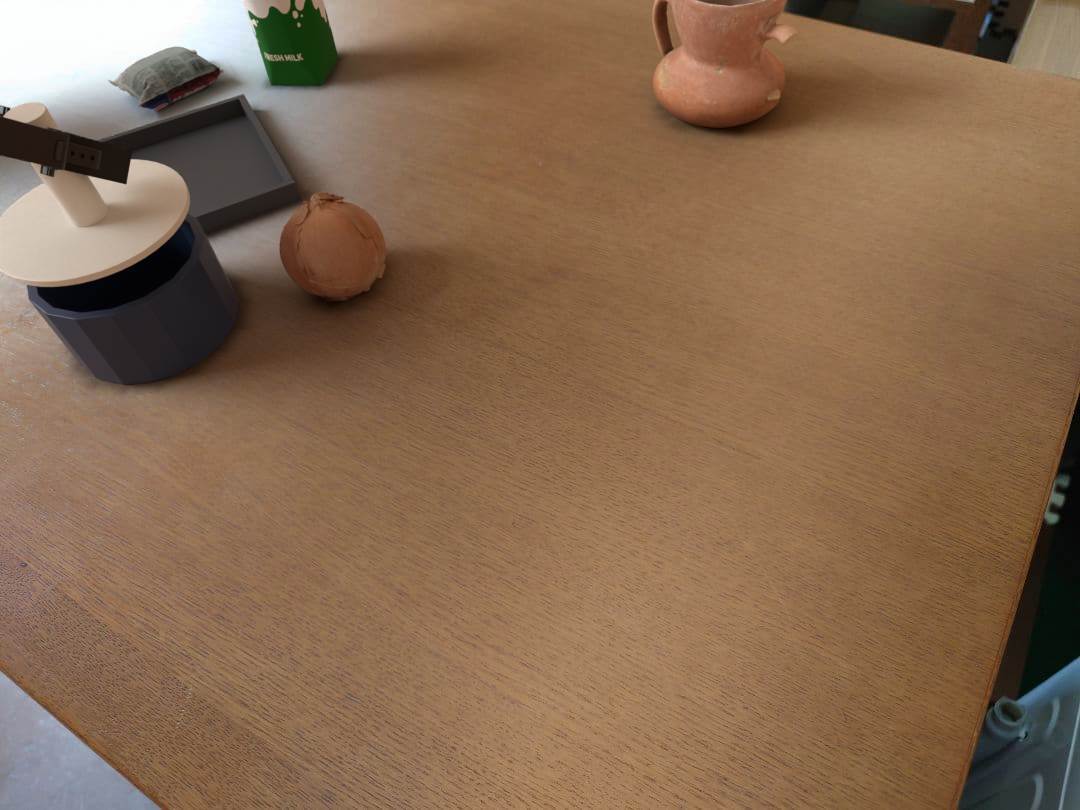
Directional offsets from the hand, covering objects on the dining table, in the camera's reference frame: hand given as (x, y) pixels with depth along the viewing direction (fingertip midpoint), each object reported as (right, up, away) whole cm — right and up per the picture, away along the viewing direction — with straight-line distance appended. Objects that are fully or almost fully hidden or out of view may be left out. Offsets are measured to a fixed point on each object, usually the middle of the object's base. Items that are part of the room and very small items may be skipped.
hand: (109, 161), depth 63 cm
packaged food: (-12, +21, +38) cm, 45 cm away
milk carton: (+4, +23, +38) cm, 45 cm away
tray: (-5, +5, +24) cm, 25 cm away
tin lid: (-1, -5, 0) cm, 5 cm away
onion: (+16, -8, +12) cm, 22 cm away
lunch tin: (-1, -12, +10) cm, 16 cm away
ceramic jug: (+55, +15, +27) cm, 63 cm away
